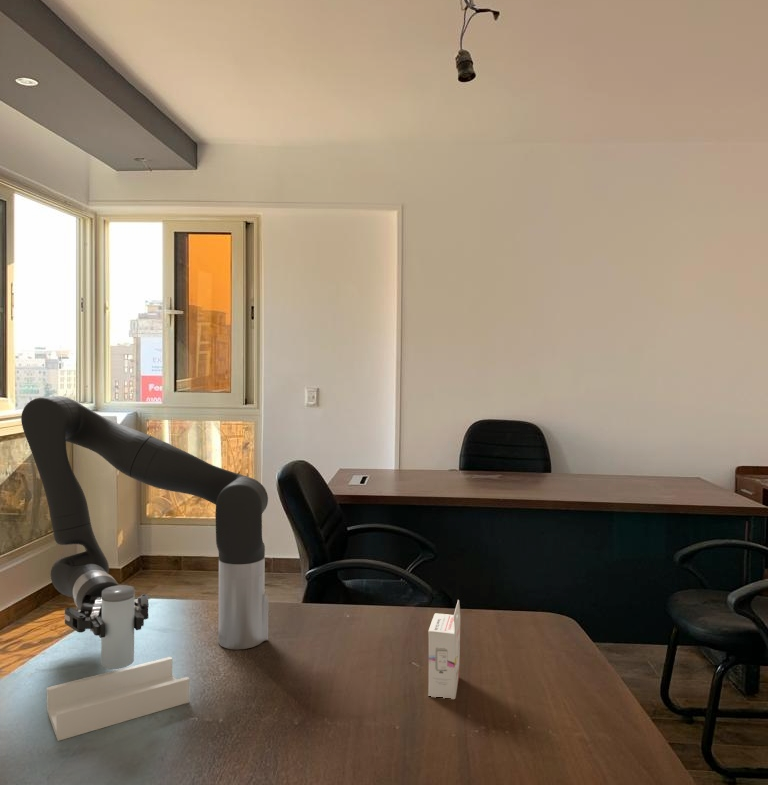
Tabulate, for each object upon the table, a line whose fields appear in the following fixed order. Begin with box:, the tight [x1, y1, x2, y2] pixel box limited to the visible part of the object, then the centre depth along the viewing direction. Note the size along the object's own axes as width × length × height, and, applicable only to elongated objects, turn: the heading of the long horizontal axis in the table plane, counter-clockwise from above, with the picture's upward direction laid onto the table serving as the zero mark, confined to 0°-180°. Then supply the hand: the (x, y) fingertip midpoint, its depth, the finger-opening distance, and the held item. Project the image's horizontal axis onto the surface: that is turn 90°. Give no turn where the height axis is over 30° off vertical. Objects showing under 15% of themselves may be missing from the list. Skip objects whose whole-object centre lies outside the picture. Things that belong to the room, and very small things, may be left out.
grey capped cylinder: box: [100, 584, 136, 670], centre depth 106 cm, size 5×5×12 cm
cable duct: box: [46, 656, 190, 742], centre depth 107 cm, size 20×10×4 cm, turn 126°
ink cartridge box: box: [427, 599, 461, 700], centre depth 115 cm, size 9×5×15 cm, turn 169°
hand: (121, 627), depth 105 cm, fingers closed on grey capped cylinder, 5 cm apart
